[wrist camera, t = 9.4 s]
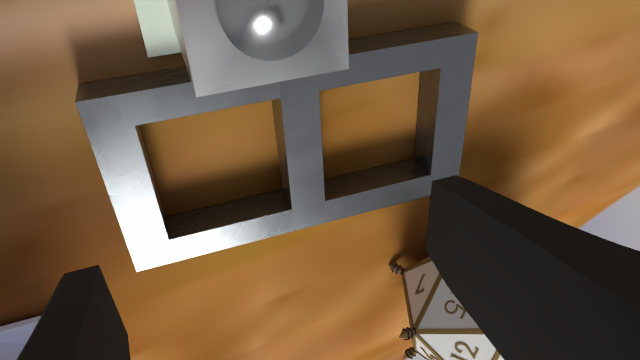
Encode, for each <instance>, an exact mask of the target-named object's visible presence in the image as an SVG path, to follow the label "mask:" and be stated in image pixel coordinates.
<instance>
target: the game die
mask: <svg viewBox="0 0 640 360" xmlns="http://www.w3.org/2000/svg"><path fill="white" fill-rule="evenodd" d="M388 265H389V266H390V268H391V270H392V272H395V273H396V274H401V275H402V280H403V286H404V292H405V299H406V305H407V311H408V317H409V323H410V328H408V327H407V328H406V329H404V328H403V330H402V332H401V334H400V336H399V337H400V338H403V339H404V340H409V339H410V338H412V342H413V347H412V348H411V347H410V348H409V349H407V350H406V351H405V355H404V358H411V359H412V358H413V356H416V353H419V354H420V355H421V356H423V357H424V358H426V359H427V360H504V359H503V358H502V356H501V355H500V354H499V353H498V351H497V350H496V349H495V347H494V346H493V345H492V344H491V342H490V341H489V340H488V338H487V337H486V336H485V334H484V333H483V332H482V331H481V329H480V328H479V327H478V325H477V324H476V323H475V322H474V320H473V319H472V318H471V316H470V315H469V314H468V313H467V311H466V310H465V309H464V307H463V306H462V305H461V303H460V302H459V301H458V300H457V298H456V297H455V296H454V294H453V293H452V292H451V290H450V289H449V288H448V286H447V285H446V283H445V282H444V280H443V278H442V277H441V275H440V273H439V272H438V270H437V268H436V266H435V265H434V263H433V261H432V259H431V257H430V256H428V257H427V258H425V259H423V260H421V261H419V262H417V263H415V264H413V265H412V266H410V267H408V268H406V269H403V268H402V267H401V265H400V266H399V265H398V264H397V263H396V264H388Z"/></svg>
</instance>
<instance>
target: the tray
mask: <svg viewBox="0 0 640 360" xmlns="http://www.w3.org/2000/svg"><path fill="white" fill-rule="evenodd" d="M134 4H135V8H136V12H137V16H138V20H139V24H140V28H141V32H142V35H143V39H144V43H145V47H146V51H147V55H148V58H149V57H155V56H161V55H168V54H174V53H180V52H181V50H180V47H179V44H178V41H177V38H176V35H175V32H174V28H173V24H172V20H171V15H170V11H169V6H168V2H167V0H134Z"/></svg>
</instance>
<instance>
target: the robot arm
mask: <svg viewBox="0 0 640 360" xmlns="http://www.w3.org/2000/svg"><path fill="white" fill-rule="evenodd" d="M426 250H427V252H428V254H429V256H430V257H431V259H432V261H433V263H434V265H435V266H436V268H437V270H438V272H439V273H440V275H441V277H442V278H443V280H444V282H445V283H446V285H447V286H448V288H449V289H450V290H451V292H452V293H453V294H454V296H455V297H456V298H457V300H458V301H459V302H460V303H461V305H462V306H463V307H464V309H465V310H466V311H467V313H468V314H469V315H470V316H471V318H472V319H473V320H474V322H475V323H476V324H477V325H478V327H479V328H480V329H481V331H482V332H483V333H484V334H485V336H486V337H487V338H488V340H489V341H490V342H491V344H492V345H493V346H494V347H495V349H496V350H497V351H498V353H499V354H500V355H501V356H502V358H503V359H504V360H640V251H637V250H634V249H631V248H628V247H625V246H622V245H619V244H616V243H614V242H611V241H608V240H605V239H603V238H600V237H598V236H595V235H592V234H590V233H587V232H585V231H582V230H580V229H577V228H575V227H572V226H570V225H567V224H565V223H563V222H560V221H558V220H556V219H553V218H551V217H549V216H546V215H544V214H542V213H540V212H537V211H535V210H533V209H531V208H528V207H526V206H524V205H522V204H520V203H518V202H515V201H513V200H511V199H509V198H507V197H505V196H502V195H500V194H498V193H496V192H494V191H492V190H489V189H487V188H485V187H483V186H481V185H478V184H476V183H474V182H472V181H469V180H467V179H464V178H462V177H459V176H457V175H454V176H450V177H446V178H442V179H438V180H434V181H432V187H431V197H430V207H429V218H428V228H427V239H426ZM0 360H130V352H129V343H128V334H127V332H126V329H125V327H124V325H123V322H122V320H121V317H120V315H119V313H118V310H117V308H116V305H115V303H114V301H113V298H112V296H111V293H110V291H109V289H108V286H107V284H106V281H105V279H104V277H103V274H102V272H101V269H100V267H99V265H97V266H93V267H89V268H85V269H81V270H77V271H73V272H69V273H65V274H64V276H63V277H62V278H61V280H60V282H59V283H58V285H57V287H56V289H55V291H54V293H53V295H52V297H51V299H50V301H49V302H48V304H47V306H46V308H45V310H44V312H43V314H42V315H41V316H38V317H34V318H30V319H26V320H23V321H19V322H15V323H11V324H8V325H4V326H0Z"/></svg>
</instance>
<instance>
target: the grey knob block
mask: <svg viewBox="0 0 640 360" xmlns="http://www.w3.org/2000/svg"><path fill="white" fill-rule="evenodd" d="M167 2H168V6H169V11H170V15H171V20H172V24H173V28H174V32H175V35H176V38H177V41H178V44H179V47H180V50H181V53H182V56H183V59H184V62H185V65H186V68H187V71H188V74H189V77H190V80H191V83H192V86H193V89H194V92H195V95H196V97H201V96H207V95H212V94H217V93H223V92H228V91H233V90H239V89H244V88H249V87H255V86H260V85H265V84H271V83H276V82H281V81H287V80H292V79H297V78H303V77H308V76H313V75H319V74H324V73H329V72H335V71H340V70H345V69H349V50H348V7H347V0H167Z"/></svg>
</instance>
